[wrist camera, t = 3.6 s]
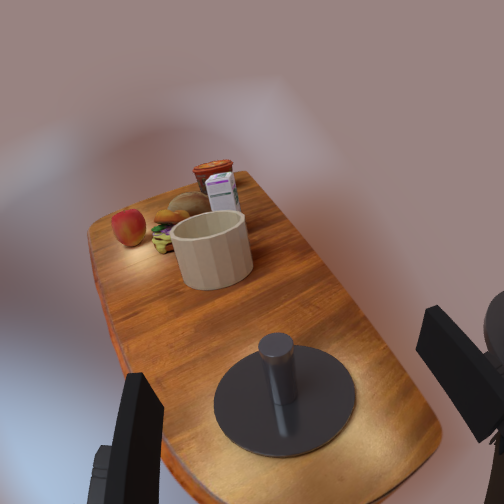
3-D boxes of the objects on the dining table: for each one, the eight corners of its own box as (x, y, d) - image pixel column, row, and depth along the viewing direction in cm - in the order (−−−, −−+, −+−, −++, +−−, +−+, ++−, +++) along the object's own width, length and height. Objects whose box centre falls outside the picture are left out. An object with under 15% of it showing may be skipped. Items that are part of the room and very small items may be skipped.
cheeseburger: (144, 253, 68) (139, 212, 66) (172, 244, 78) (168, 207, 76) (175, 255, 64) (170, 210, 62) (202, 245, 73) (198, 205, 71)
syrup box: (242, 237, 68) (231, 175, 61) (217, 240, 68) (204, 180, 62) (244, 227, 73) (234, 170, 66) (221, 231, 74) (209, 174, 67)
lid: (363, 358, 31) (369, 300, 27) (335, 473, 19) (344, 433, 15) (248, 343, 37) (235, 288, 33) (192, 434, 25) (160, 385, 21)
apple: (149, 246, 73) (138, 209, 69) (116, 255, 71) (104, 220, 67) (151, 233, 81) (141, 201, 77) (120, 242, 80) (110, 210, 75)
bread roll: (219, 215, 85) (213, 189, 81) (169, 229, 82) (161, 203, 78) (213, 207, 93) (208, 183, 90) (167, 220, 90) (161, 196, 86)
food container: (189, 195, 114) (183, 169, 109) (217, 184, 125) (212, 160, 120) (217, 197, 104) (211, 168, 100) (245, 184, 115) (241, 158, 110)
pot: (263, 254, 58) (256, 209, 54) (234, 294, 48) (221, 241, 43) (205, 251, 64) (195, 211, 60) (169, 285, 53) (154, 239, 49)
